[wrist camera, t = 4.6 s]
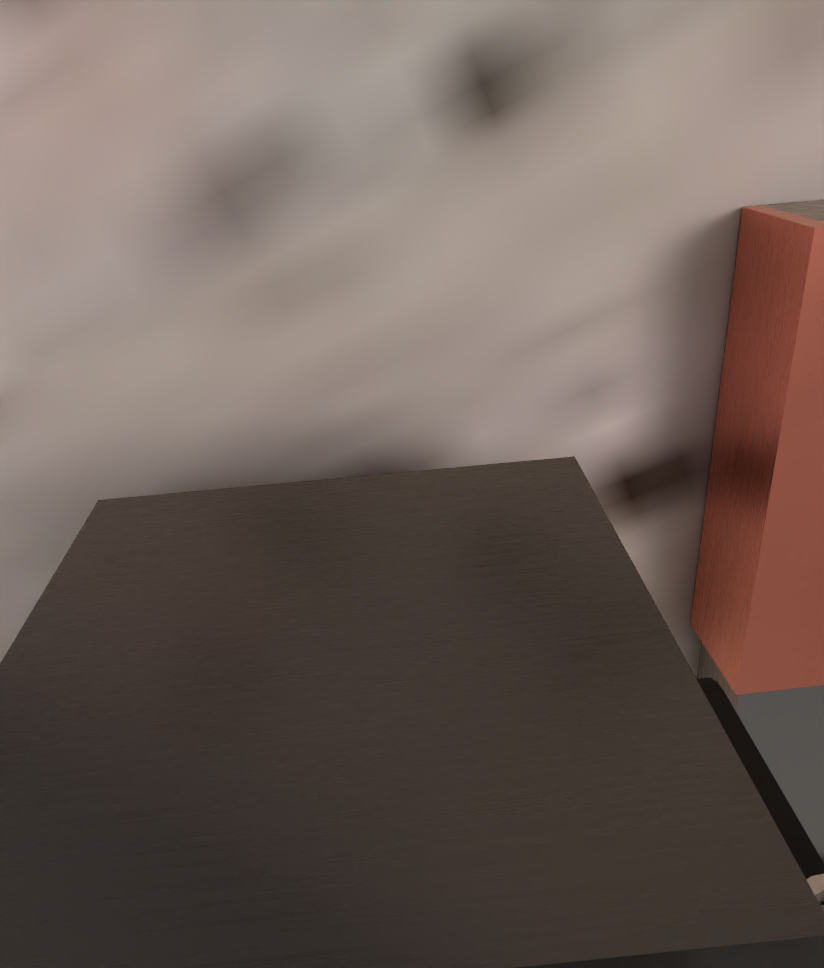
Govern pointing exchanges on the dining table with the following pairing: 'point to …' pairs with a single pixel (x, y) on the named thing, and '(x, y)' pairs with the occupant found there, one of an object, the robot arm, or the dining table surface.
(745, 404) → the ratchet
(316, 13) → the dining table surface
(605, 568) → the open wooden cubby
